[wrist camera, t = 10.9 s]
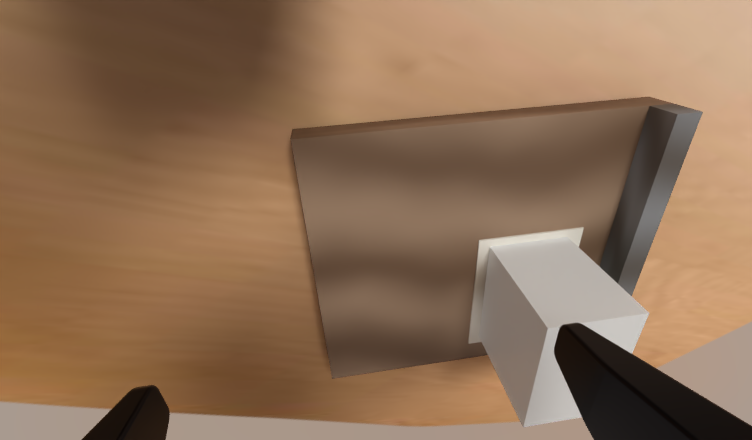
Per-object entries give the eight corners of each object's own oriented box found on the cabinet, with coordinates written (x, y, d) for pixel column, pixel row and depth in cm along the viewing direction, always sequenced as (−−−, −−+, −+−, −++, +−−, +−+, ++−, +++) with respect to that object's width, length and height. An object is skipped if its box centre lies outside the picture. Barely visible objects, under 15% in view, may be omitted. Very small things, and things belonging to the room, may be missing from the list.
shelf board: (292, 129, 17) (288, 151, 15) (652, 96, 19) (707, 111, 16) (331, 359, 26) (333, 401, 23) (581, 322, 27) (610, 357, 25)
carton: (478, 336, 24) (523, 427, 19) (489, 246, 20) (548, 328, 15) (549, 325, 24) (611, 411, 19) (572, 236, 21) (655, 312, 16)
